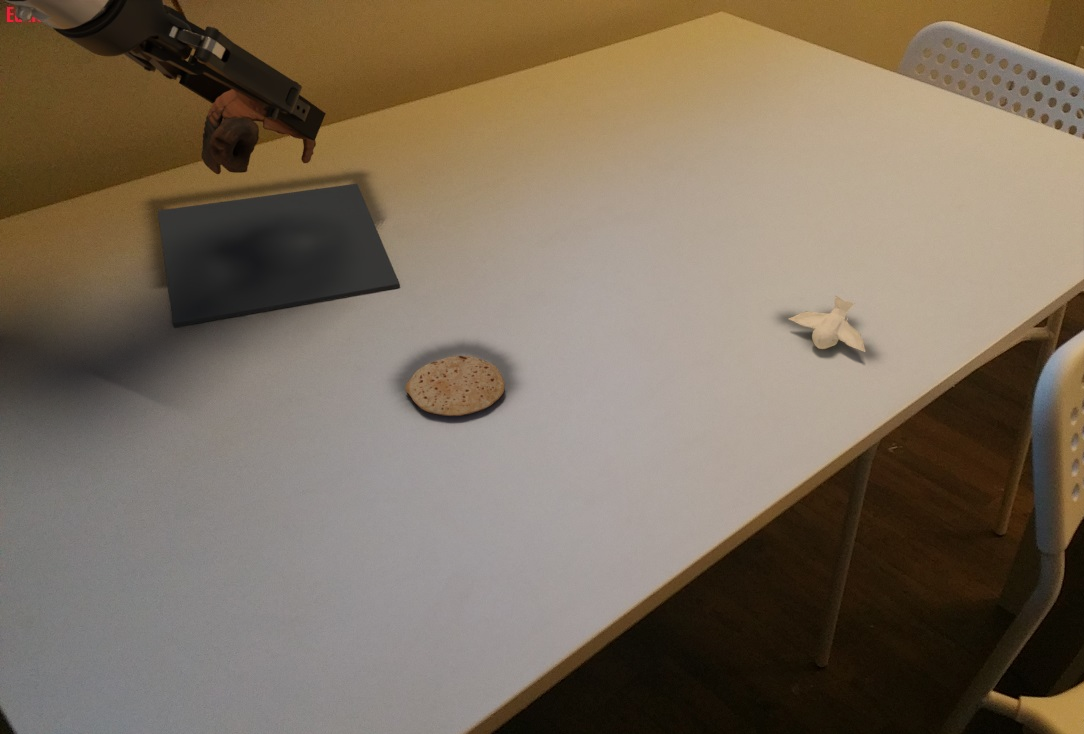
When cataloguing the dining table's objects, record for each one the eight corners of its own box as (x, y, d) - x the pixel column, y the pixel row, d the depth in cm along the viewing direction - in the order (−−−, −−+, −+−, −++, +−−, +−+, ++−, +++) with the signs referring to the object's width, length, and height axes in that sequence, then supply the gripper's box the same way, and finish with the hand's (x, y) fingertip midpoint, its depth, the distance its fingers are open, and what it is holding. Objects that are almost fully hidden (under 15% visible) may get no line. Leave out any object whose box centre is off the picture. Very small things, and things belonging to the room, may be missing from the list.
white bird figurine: (776, 335, 92) (792, 288, 90) (794, 327, 96) (810, 282, 94) (854, 369, 89) (872, 321, 87) (869, 359, 93) (887, 314, 91)
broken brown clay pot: (214, 137, 95) (247, 61, 92) (305, 188, 97) (340, 115, 94) (159, 166, 84) (195, 81, 81) (264, 222, 86) (302, 141, 83)
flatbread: (492, 355, 87) (492, 346, 87) (513, 410, 82) (513, 401, 81) (399, 370, 85) (398, 361, 84) (414, 428, 80) (413, 419, 79)
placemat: (158, 214, 101) (157, 210, 100) (357, 187, 108) (357, 183, 108) (173, 327, 87) (172, 323, 87) (400, 287, 94) (399, 283, 94)
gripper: (-48, -1, 72) (171, 121, 94) (177, 68, 66) (355, 181, 88) (-8, -94, 73) (201, 49, 94) (219, -33, 67) (386, 104, 88)
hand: (275, 113), depth 91 cm, fingers closed on broken brown clay pot, 9 cm apart
